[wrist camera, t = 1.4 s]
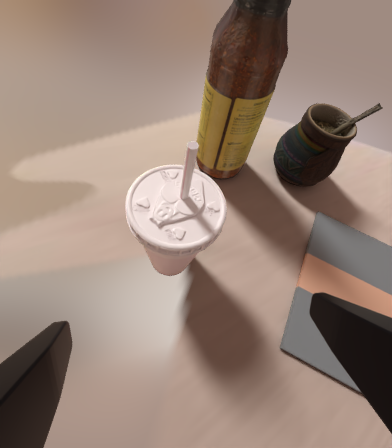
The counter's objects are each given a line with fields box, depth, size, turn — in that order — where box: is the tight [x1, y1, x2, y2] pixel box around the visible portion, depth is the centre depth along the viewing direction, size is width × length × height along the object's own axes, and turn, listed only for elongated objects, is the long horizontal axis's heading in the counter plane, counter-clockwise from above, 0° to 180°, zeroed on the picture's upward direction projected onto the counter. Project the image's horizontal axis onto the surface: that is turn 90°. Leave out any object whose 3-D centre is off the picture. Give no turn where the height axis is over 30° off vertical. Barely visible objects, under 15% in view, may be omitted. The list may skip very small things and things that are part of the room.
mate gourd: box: [273, 103, 382, 186], centre depth 27 cm, size 7×8×10 cm
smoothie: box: [126, 141, 227, 276], centre depth 17 cm, size 6×6×14 cm
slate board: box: [280, 211, 392, 393], centre depth 24 cm, size 16×12×1 cm
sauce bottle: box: [196, 0, 291, 179], centre depth 21 cm, size 6×6×20 cm
